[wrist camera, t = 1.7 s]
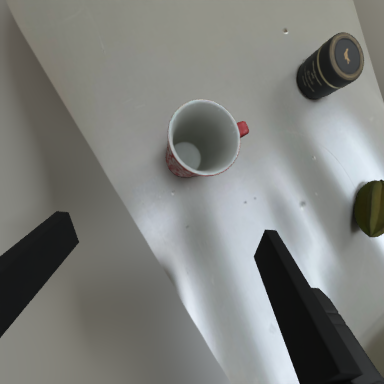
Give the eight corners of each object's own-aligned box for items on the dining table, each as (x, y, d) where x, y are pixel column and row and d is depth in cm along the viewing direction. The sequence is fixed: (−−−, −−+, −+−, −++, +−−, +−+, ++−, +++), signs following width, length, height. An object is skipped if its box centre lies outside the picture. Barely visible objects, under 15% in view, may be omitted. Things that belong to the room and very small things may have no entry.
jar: (306, 108, 40) (342, 89, 32) (288, 70, 38) (321, 40, 31) (332, 91, 42) (371, 69, 34) (316, 54, 40) (353, 23, 33)
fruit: (378, 214, 46) (415, 218, 40) (350, 235, 43) (384, 242, 37) (366, 177, 45) (402, 175, 38) (336, 196, 42) (369, 197, 36)
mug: (170, 188, 32) (184, 186, 18) (153, 143, 31) (156, 108, 18) (226, 168, 34) (272, 154, 21) (212, 126, 34) (252, 85, 21)
